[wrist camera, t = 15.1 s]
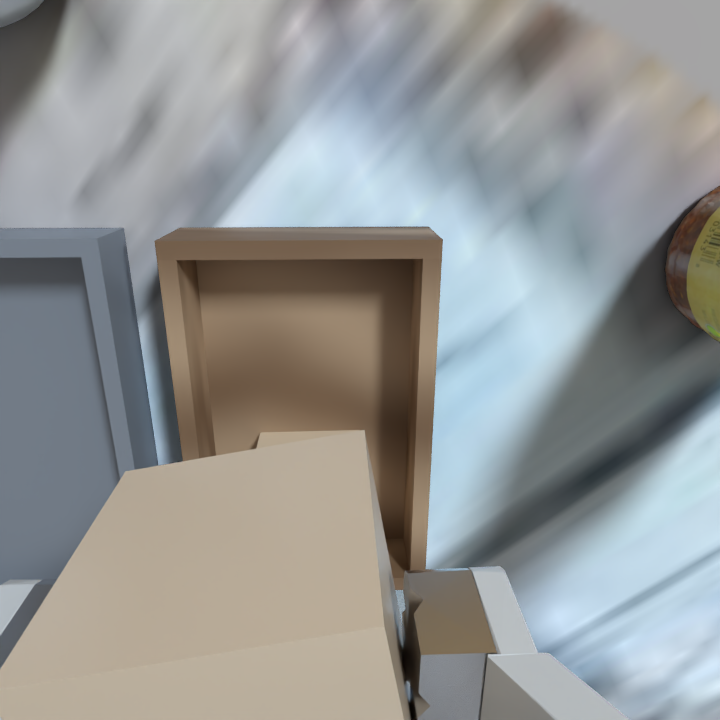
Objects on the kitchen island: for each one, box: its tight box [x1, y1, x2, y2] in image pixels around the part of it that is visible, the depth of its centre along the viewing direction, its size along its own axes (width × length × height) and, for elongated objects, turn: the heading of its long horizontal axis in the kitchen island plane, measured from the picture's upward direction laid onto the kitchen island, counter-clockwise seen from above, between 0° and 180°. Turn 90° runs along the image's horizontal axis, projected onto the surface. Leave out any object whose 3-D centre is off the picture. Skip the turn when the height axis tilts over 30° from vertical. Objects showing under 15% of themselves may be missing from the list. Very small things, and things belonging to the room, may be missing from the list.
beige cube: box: [0, 430, 412, 720], centre depth 8 cm, size 4×4×4 cm
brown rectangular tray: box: [155, 227, 443, 590], centre depth 22 cm, size 14×9×3 cm, turn 0°
